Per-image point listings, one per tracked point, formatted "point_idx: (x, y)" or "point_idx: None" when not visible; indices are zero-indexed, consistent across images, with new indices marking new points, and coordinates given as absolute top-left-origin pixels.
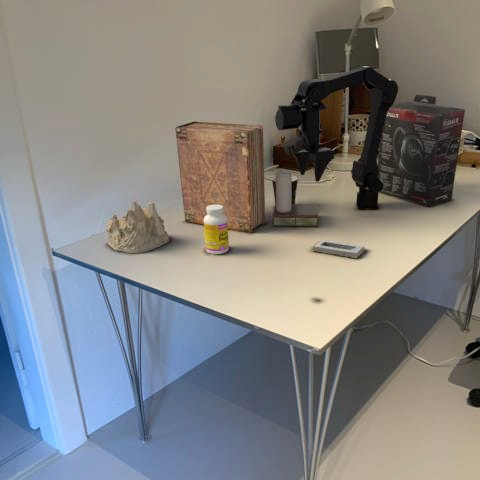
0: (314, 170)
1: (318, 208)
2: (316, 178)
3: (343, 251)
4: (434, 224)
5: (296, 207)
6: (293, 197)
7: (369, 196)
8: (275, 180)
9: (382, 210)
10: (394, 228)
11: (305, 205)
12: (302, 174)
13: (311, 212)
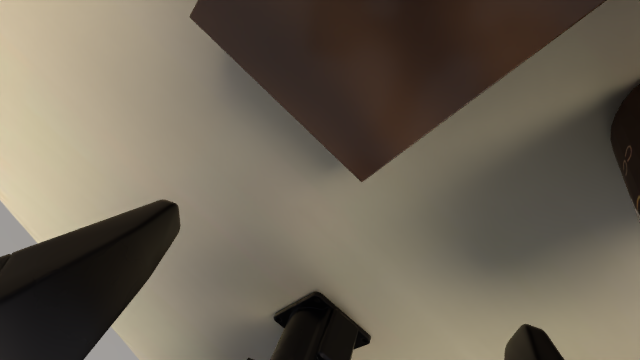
0: (29, 279)
1: (293, 115)
2: (123, 215)
3: None
4: None
5: (424, 14)
6: (631, 177)
7: (277, 349)
8: None
9: (262, 313)
10: (109, 206)
11: (404, 102)
12: (518, 336)
13: (254, 20)
